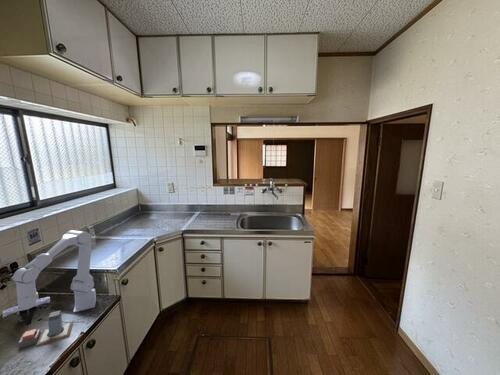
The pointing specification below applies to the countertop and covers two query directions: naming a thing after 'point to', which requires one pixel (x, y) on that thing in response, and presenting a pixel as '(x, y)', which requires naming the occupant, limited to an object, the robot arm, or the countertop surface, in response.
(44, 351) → the countertop surface
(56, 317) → the grey rectangular block
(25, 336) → the button
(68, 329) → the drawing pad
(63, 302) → the countertop surface
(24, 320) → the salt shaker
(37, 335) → the button housing
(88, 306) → the robot arm
